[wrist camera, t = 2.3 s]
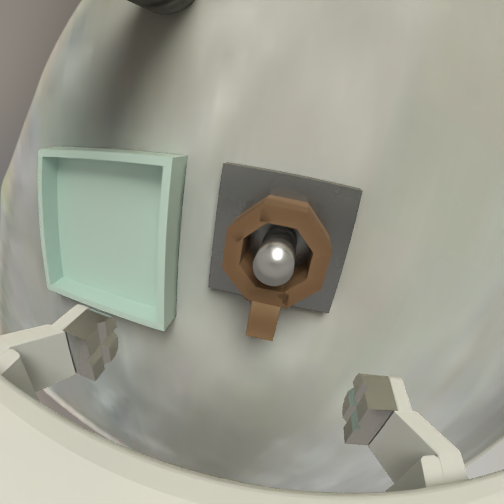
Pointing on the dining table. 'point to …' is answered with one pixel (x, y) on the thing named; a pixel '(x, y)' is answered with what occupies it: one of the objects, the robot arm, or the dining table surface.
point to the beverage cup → (163, 5)
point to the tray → (113, 229)
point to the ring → (304, 276)
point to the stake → (283, 227)
